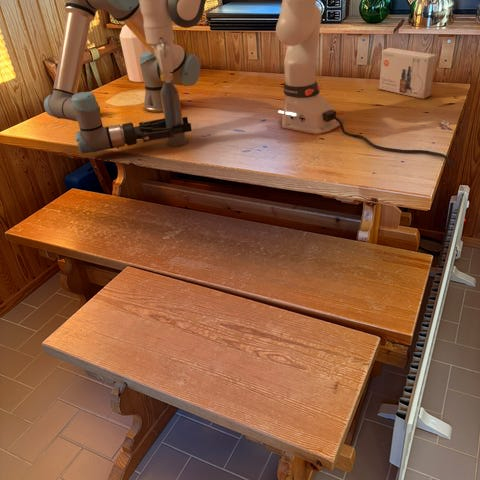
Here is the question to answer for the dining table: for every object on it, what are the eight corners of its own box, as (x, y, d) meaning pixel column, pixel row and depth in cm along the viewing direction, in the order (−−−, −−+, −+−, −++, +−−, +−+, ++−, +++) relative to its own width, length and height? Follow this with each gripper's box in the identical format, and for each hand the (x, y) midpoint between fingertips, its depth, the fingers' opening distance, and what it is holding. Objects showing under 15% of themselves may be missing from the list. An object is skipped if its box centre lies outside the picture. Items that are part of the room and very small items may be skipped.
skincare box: (377, 89, 194) (381, 50, 185) (385, 86, 197) (389, 47, 188) (423, 99, 180) (429, 56, 171) (430, 95, 183) (437, 53, 174)
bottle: (168, 146, 163) (156, 80, 150) (169, 140, 168) (158, 75, 155) (186, 144, 163) (175, 78, 150) (186, 138, 168) (176, 73, 155)
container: (160, 81, 233) (149, 21, 217) (121, 82, 238) (108, 23, 222) (174, 69, 249) (165, 13, 233) (138, 70, 254) (126, 15, 238)
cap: (161, 81, 151) (160, 77, 150) (160, 78, 154) (159, 74, 154) (173, 80, 152) (173, 75, 151) (172, 77, 155) (171, 72, 154)
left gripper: (124, 135, 169) (186, 125, 173) (127, 155, 154) (195, 143, 157) (119, 115, 165) (183, 105, 169) (122, 134, 149) (192, 122, 153)
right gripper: (173, 40, 137) (180, 87, 145) (165, 28, 154) (172, 71, 162) (152, 43, 136) (161, 90, 144) (147, 31, 153) (154, 74, 161)
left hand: (189, 123), depth 163 cm, fingers closed on bottle, 6 cm apart
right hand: (167, 80), depth 153 cm, fingers closed on cap, 4 cm apart
